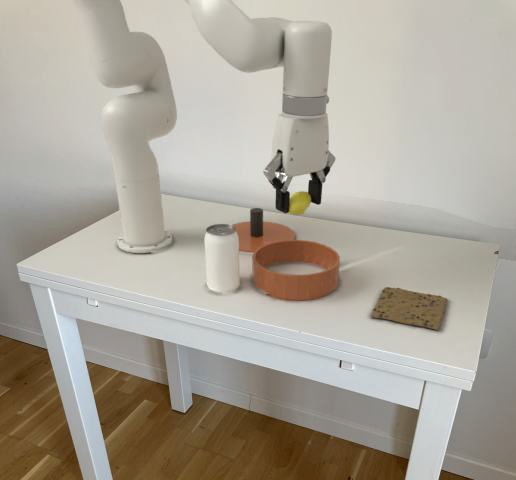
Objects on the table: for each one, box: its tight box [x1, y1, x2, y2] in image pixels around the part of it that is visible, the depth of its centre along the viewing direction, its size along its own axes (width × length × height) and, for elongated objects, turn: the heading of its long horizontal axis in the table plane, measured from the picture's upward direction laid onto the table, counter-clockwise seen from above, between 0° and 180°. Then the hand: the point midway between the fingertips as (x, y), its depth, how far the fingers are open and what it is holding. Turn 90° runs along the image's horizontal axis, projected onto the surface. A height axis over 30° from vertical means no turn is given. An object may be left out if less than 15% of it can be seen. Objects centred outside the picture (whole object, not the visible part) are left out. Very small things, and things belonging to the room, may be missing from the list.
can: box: [203, 223, 241, 293], centre depth 104 cm, size 6×6×12 cm
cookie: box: [371, 286, 448, 331], centre depth 99 cm, size 12×12×1 cm
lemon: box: [288, 190, 312, 216], centre depth 101 cm, size 4×8×4 cm, turn 153°
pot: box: [251, 239, 341, 302], centre depth 108 cm, size 17×17×5 cm
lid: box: [231, 207, 296, 253], centre depth 126 cm, size 18×18×7 cm
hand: (298, 206), depth 102 cm, fingers closed on lemon, 7 cm apart
